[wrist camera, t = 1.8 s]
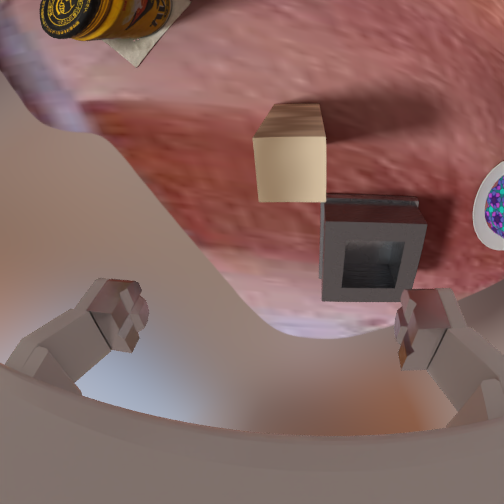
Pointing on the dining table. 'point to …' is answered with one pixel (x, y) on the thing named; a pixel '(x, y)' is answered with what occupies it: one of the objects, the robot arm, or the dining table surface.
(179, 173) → the dining table surface
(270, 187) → the wooden peg
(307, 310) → the dining table surface
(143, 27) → the condiment
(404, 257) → the socket holder
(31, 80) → the dining table surface
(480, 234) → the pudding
